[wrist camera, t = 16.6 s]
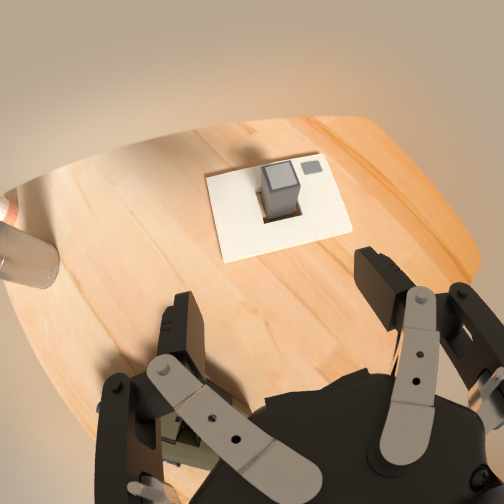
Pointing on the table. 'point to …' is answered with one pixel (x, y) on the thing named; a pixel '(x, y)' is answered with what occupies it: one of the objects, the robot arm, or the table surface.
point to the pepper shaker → (8, 210)
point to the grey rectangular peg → (279, 189)
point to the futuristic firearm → (191, 436)
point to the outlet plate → (283, 231)
